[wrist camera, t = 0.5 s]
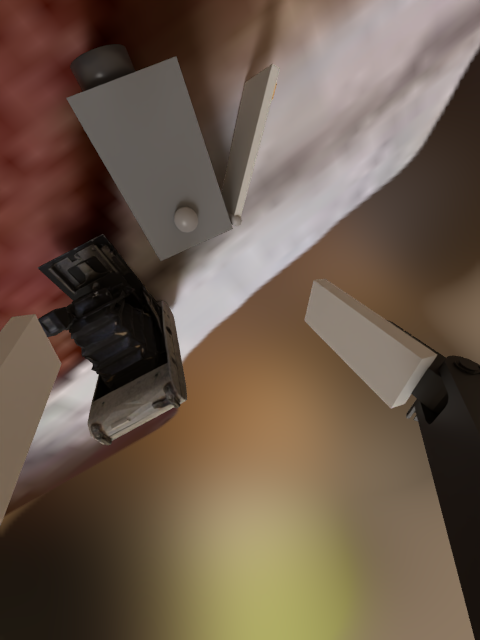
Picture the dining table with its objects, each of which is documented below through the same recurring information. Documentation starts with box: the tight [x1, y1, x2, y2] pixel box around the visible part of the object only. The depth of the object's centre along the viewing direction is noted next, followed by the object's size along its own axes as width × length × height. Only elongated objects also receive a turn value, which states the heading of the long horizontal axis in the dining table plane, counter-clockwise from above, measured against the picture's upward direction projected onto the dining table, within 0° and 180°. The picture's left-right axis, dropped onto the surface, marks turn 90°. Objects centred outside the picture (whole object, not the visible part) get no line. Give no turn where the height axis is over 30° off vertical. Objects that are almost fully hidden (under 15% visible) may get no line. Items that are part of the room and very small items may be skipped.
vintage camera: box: [38, 234, 187, 445], centre depth 27 cm, size 10×16×20 cm, turn 22°
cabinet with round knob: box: [66, 44, 233, 261], centre depth 25 cm, size 16×9×9 cm, turn 18°
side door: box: [221, 64, 280, 226], centre depth 27 cm, size 14×2×7 cm, turn 163°
